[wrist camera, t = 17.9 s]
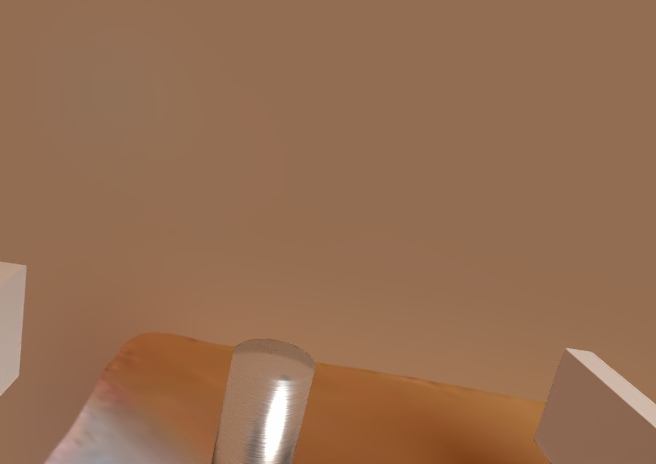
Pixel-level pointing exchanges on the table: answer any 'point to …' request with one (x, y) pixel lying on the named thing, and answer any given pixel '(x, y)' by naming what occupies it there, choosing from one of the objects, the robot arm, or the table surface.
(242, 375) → the long steel pin
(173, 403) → the table surface
